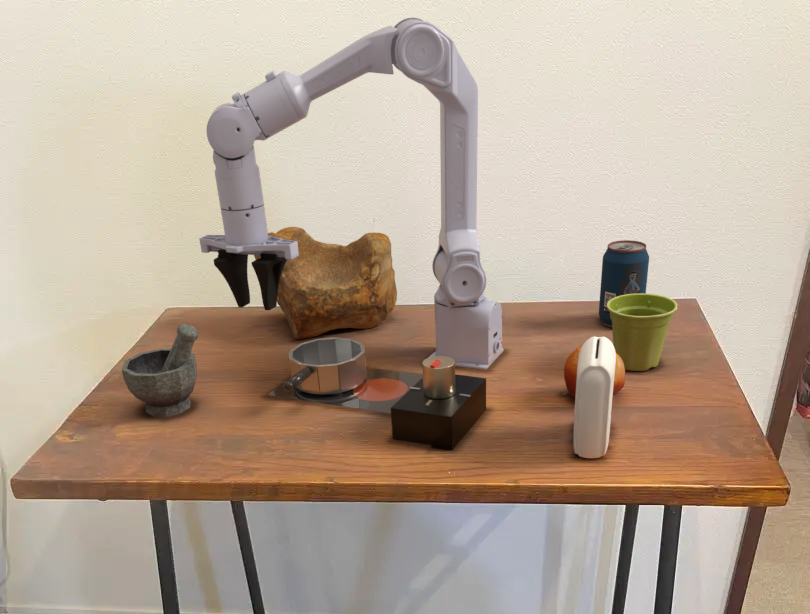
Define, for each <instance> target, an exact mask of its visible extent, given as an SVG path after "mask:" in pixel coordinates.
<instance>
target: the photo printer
mask: <svg viewBox="0 0 810 614" xmlns="http://www.w3.org/2000/svg"><path fill="white" fill-rule="evenodd" d="M582 345H583V346H582V348H581V350H580V354H579V358H578V366H577V381H576V396H575V397H574V398H575V399H574V414H573V436H572V437H573V438H572V439H573V441H572V444H573V445H572V446H573V451H574V454H575V455H578V457H580V458H585V459H600V458H601V457H602V456H605V455H606V454H607V451H608V448H609V443H610V442H609V441H610V435H611V423H612V422H611V421H612V408H613V397H614V396H613V386H614V375H615V364H616V352H615V348H614V345H613V341H611V340H610V339H609V338H608V337H607V336H604V335H603V336H596V335H593V336H590V337H589V338H587V340H585V341H584V343H583V344H582Z"/></svg>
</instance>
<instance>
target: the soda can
mask: <svg viewBox="0 0 810 614" xmlns="http://www.w3.org/2000/svg"><path fill="white" fill-rule="evenodd" d="M649 263H650V255H649V253H648V249H647V244H646V243H644V242H642V241H638V240H625V239H624V240H615V241H611V242H609V243H608V244H607V247H606V250H605V252H604V254H603V255H602V262H601V274H600V275H601V276H600V277H601V278H600V290H599V303H598V304H599V305H598V316H599V318H600V320H601V322H602V324H603V325H604V326H606V327H609V328H612V320H611V318H610V311H609V310H608V309H607V303H608V301H609V300H611V299H613V298H615V297H617V296H621V295H626V294H639V293H640V294H641V293H644V294H647V285H648V274H649Z"/></svg>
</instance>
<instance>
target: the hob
mask: <svg viewBox="0 0 810 614" xmlns="http://www.w3.org/2000/svg"><path fill="white" fill-rule="evenodd" d="M366 373H367V377H366V378H365V379H364V381H363V383H362V384H360V385H359V386H358V387H356V388H354V389H351V390H349V391H345V392H344V393H343V394H342V395H341V396H339V395H332V394H311V393H307V392H303V391H301V390H297V389H295V388H294V389H293V390H291V391H286V390H285V389H284V388H283V384H284V382H282V383H281V384H280V385H278V386H277V387H276V388H275V389H273V390H271V391H270V392H269V393H268V394H267V396H270V397H275V398H282V399H289V400H297V401H301V402H302V401H303V402H308V403H309V402H310V403H317V404H323V405H328V406H329V405H330V406H336V407H343V408H348V409H355V410H363V411H369V412H377V413H382V414H388V415H391V407H392V406H393V405H394V404H395V403H396V402H397V401H398V400H400V399H401V398H402V397H403V396H404V395H405V394H406V393H407V392H408V391H409V390H410V389H409V388H410V387H413V386H414V385H415V384H416V383H417V382H418V381H419V380H421V379H422V378H423V374H418V373H410V372H404V371H403V372H402V371H395V370H388V369H379V368H371V367H366Z"/></svg>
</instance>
